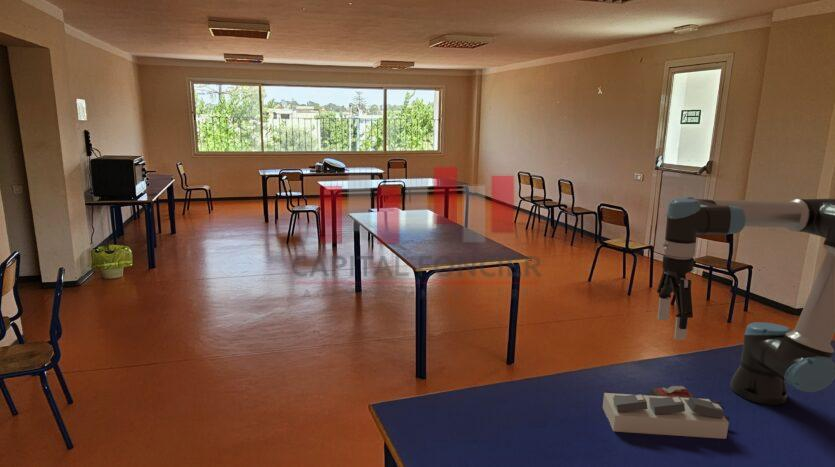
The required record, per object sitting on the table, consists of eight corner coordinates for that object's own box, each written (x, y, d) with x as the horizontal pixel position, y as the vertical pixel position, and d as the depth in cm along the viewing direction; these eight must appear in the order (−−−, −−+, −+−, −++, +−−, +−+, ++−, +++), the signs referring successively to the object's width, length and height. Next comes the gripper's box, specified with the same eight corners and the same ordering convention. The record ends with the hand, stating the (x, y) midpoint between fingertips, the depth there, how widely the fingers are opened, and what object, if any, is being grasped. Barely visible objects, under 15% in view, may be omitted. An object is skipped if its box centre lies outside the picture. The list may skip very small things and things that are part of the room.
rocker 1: (642, 401, 147) (641, 393, 146) (647, 409, 143) (646, 400, 143) (613, 404, 148) (612, 396, 148) (617, 412, 144) (616, 404, 144)
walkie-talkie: (659, 411, 155) (722, 408, 157) (661, 398, 154) (724, 395, 156) (644, 395, 163) (703, 393, 165) (645, 383, 162) (705, 380, 164)
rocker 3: (715, 411, 145) (718, 403, 145) (721, 419, 142) (725, 410, 141) (686, 404, 146) (690, 396, 145) (692, 411, 142) (696, 403, 141)
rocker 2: (679, 403, 146) (678, 395, 145) (685, 411, 142) (684, 402, 142) (650, 407, 147) (649, 398, 147) (654, 414, 143) (653, 406, 143)
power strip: (717, 415, 152) (719, 399, 151) (737, 439, 141) (740, 422, 140) (602, 407, 156) (604, 392, 154) (613, 431, 144) (615, 414, 143)
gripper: (649, 244, 152) (643, 312, 157) (681, 268, 128) (672, 347, 133) (676, 245, 151) (669, 313, 156) (713, 269, 127) (703, 348, 132)
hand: (670, 329), depth 144 cm, fingers open, 13 cm apart
